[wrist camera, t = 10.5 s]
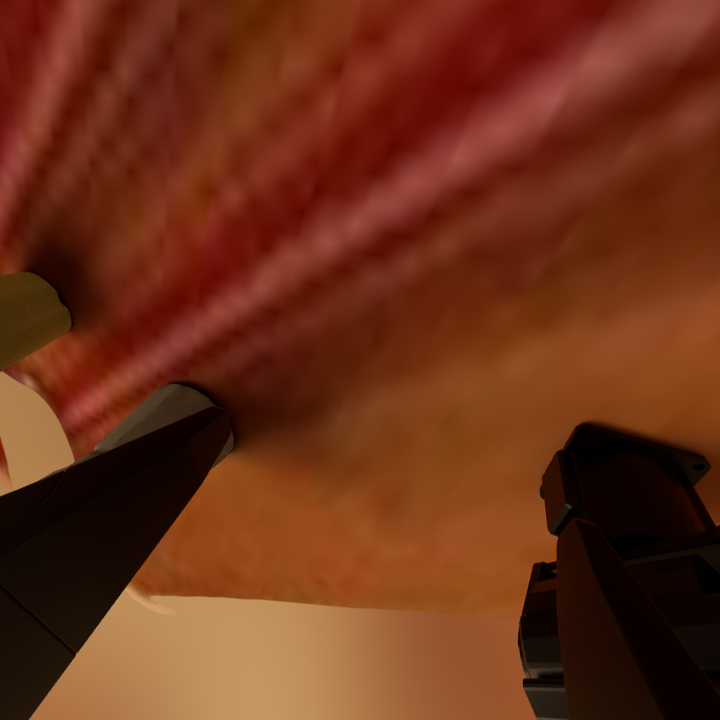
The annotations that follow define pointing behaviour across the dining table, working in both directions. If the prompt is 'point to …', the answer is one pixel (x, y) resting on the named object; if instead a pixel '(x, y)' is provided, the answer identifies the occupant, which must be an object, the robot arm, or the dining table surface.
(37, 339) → the plant pot
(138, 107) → the dining table surface
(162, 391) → the moka pot
